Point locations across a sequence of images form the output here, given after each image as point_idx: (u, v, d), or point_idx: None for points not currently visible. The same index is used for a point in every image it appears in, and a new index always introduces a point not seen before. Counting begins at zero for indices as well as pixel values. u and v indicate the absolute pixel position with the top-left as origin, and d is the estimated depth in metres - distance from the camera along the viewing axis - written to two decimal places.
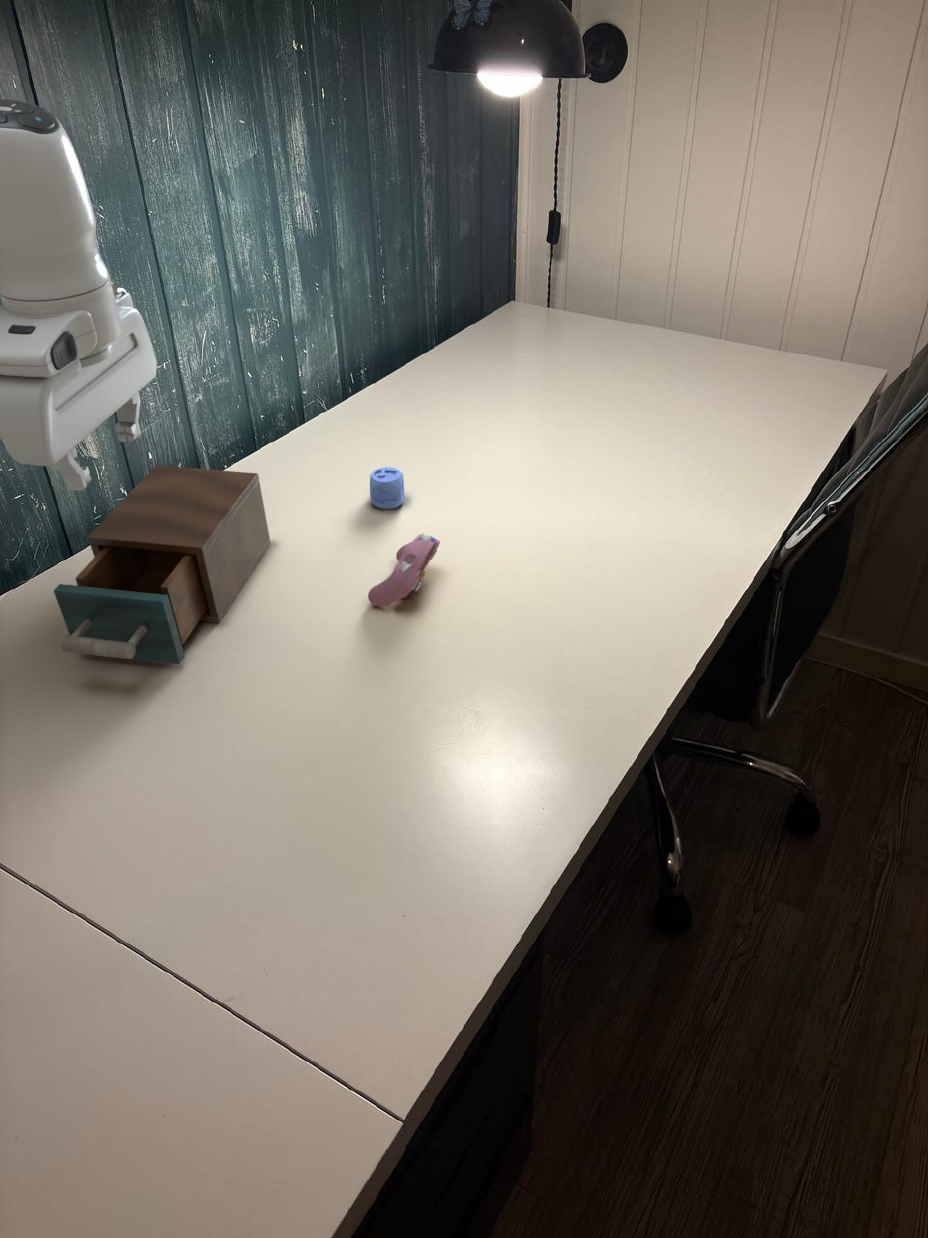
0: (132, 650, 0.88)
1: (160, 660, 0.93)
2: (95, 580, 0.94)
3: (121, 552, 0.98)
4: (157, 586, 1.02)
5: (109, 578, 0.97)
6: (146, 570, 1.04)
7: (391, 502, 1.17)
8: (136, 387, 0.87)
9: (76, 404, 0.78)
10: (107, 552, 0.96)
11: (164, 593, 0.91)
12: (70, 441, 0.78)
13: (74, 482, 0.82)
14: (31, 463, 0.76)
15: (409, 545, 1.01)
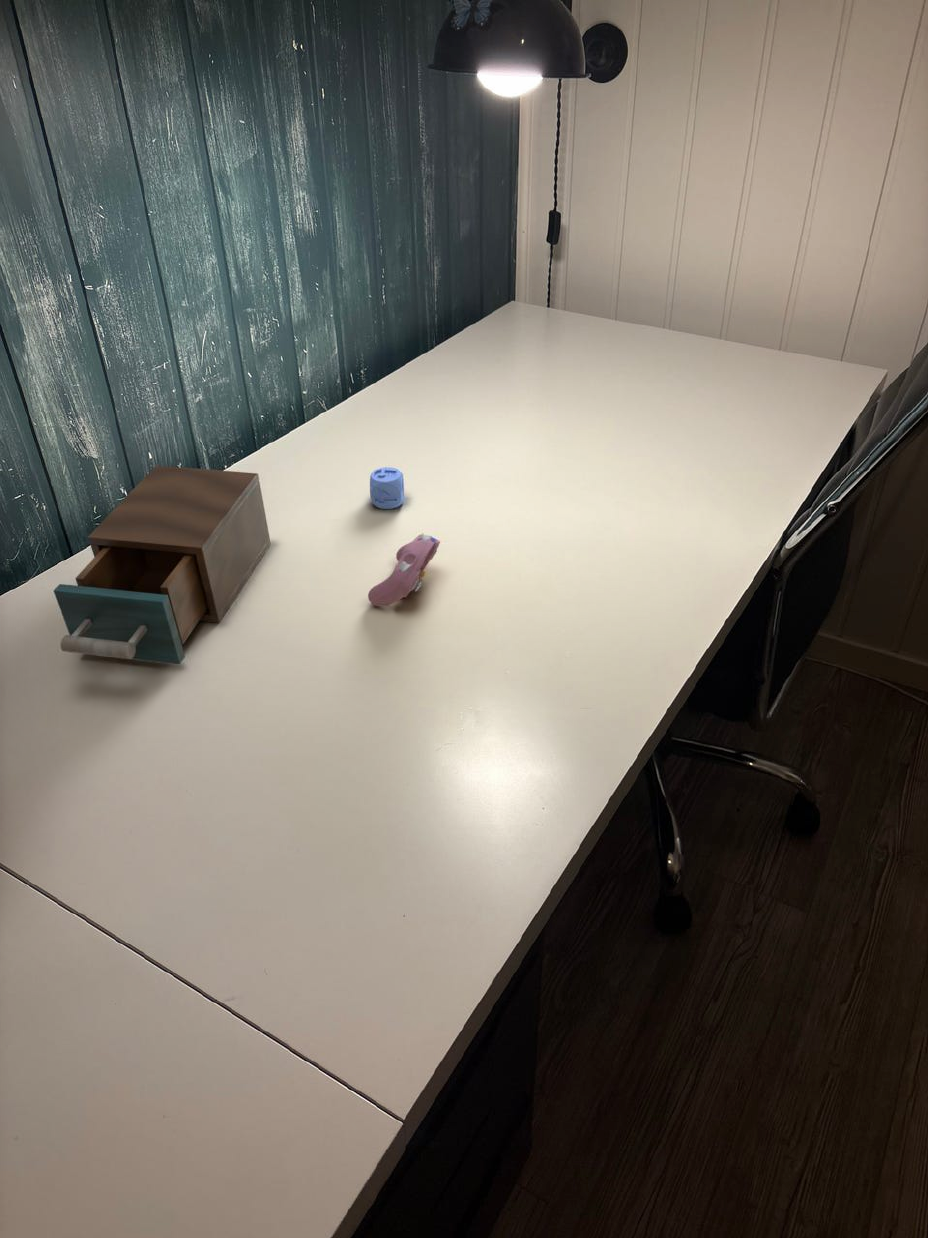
0: (132, 650, 0.88)
1: (160, 660, 0.93)
2: (95, 580, 0.94)
3: (121, 552, 0.98)
4: (157, 586, 1.02)
5: (109, 578, 0.97)
6: (146, 570, 1.04)
7: (391, 502, 1.17)
8: None
9: None
10: (107, 552, 0.96)
11: (164, 593, 0.91)
12: None
13: None
14: None
15: (409, 545, 1.01)
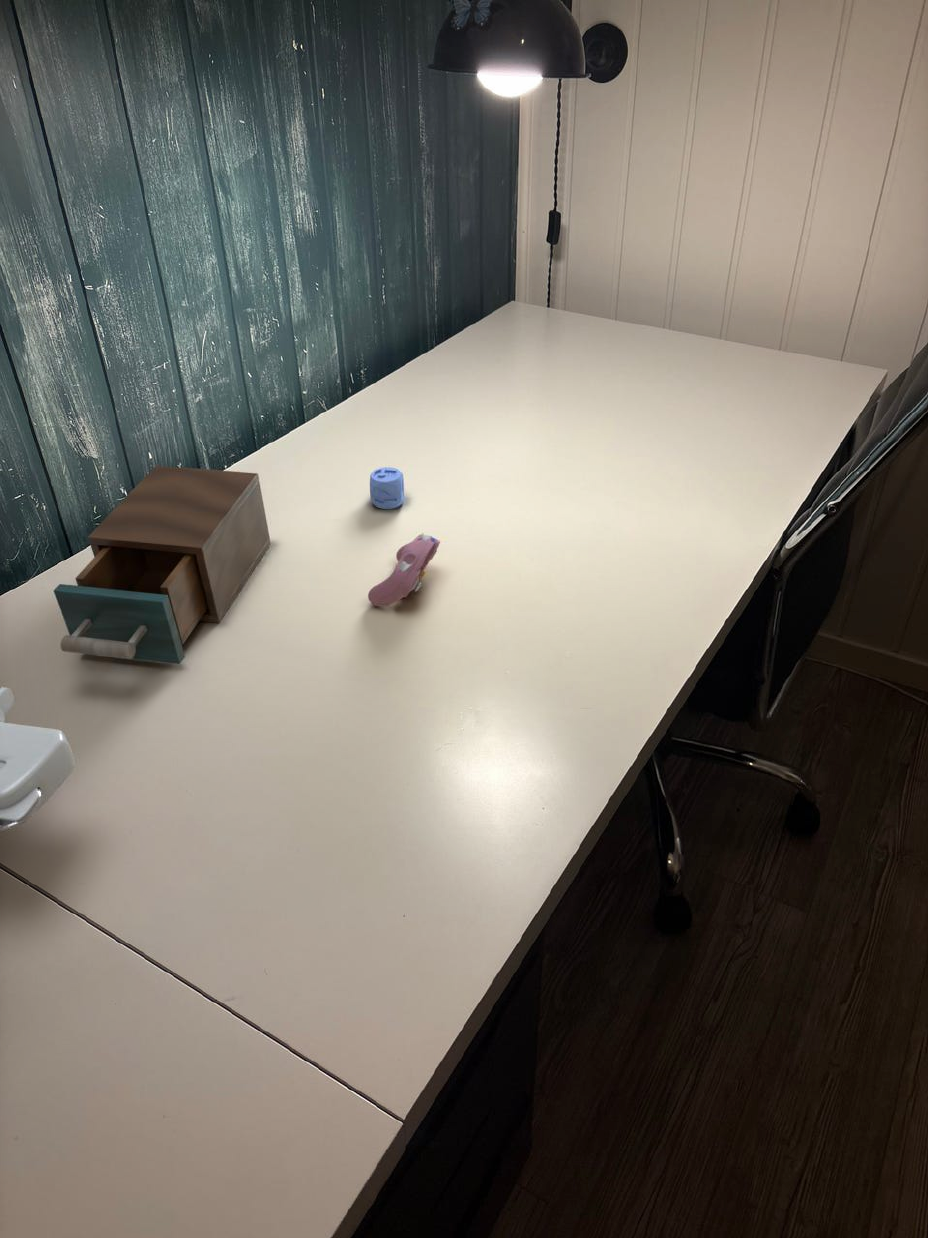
0: (132, 650, 0.88)
1: (160, 660, 0.93)
2: (95, 580, 0.94)
3: (121, 552, 0.98)
4: (157, 586, 1.02)
5: (109, 578, 0.97)
6: (146, 570, 1.04)
7: (391, 502, 1.17)
8: None
9: None
10: (107, 552, 0.96)
11: (164, 593, 0.91)
12: None
13: None
14: None
15: (409, 545, 1.01)
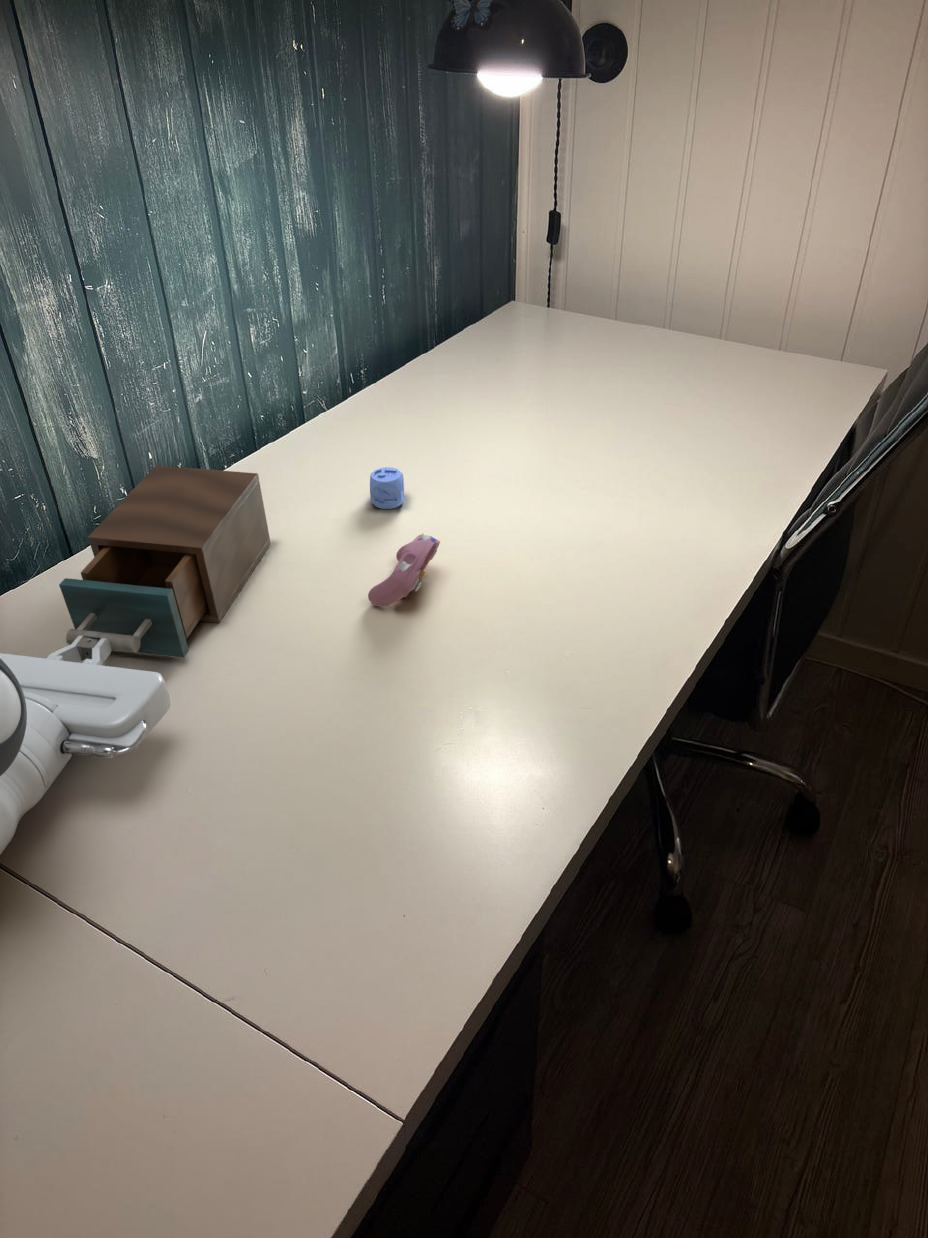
0: (137, 643, 0.89)
1: (164, 654, 0.94)
2: (100, 574, 0.95)
3: None
4: (161, 581, 1.02)
5: (114, 573, 0.97)
6: (150, 565, 1.05)
7: (391, 502, 1.17)
8: None
9: None
10: (112, 547, 0.97)
11: (168, 587, 0.92)
12: None
13: None
14: None
15: (409, 545, 1.01)
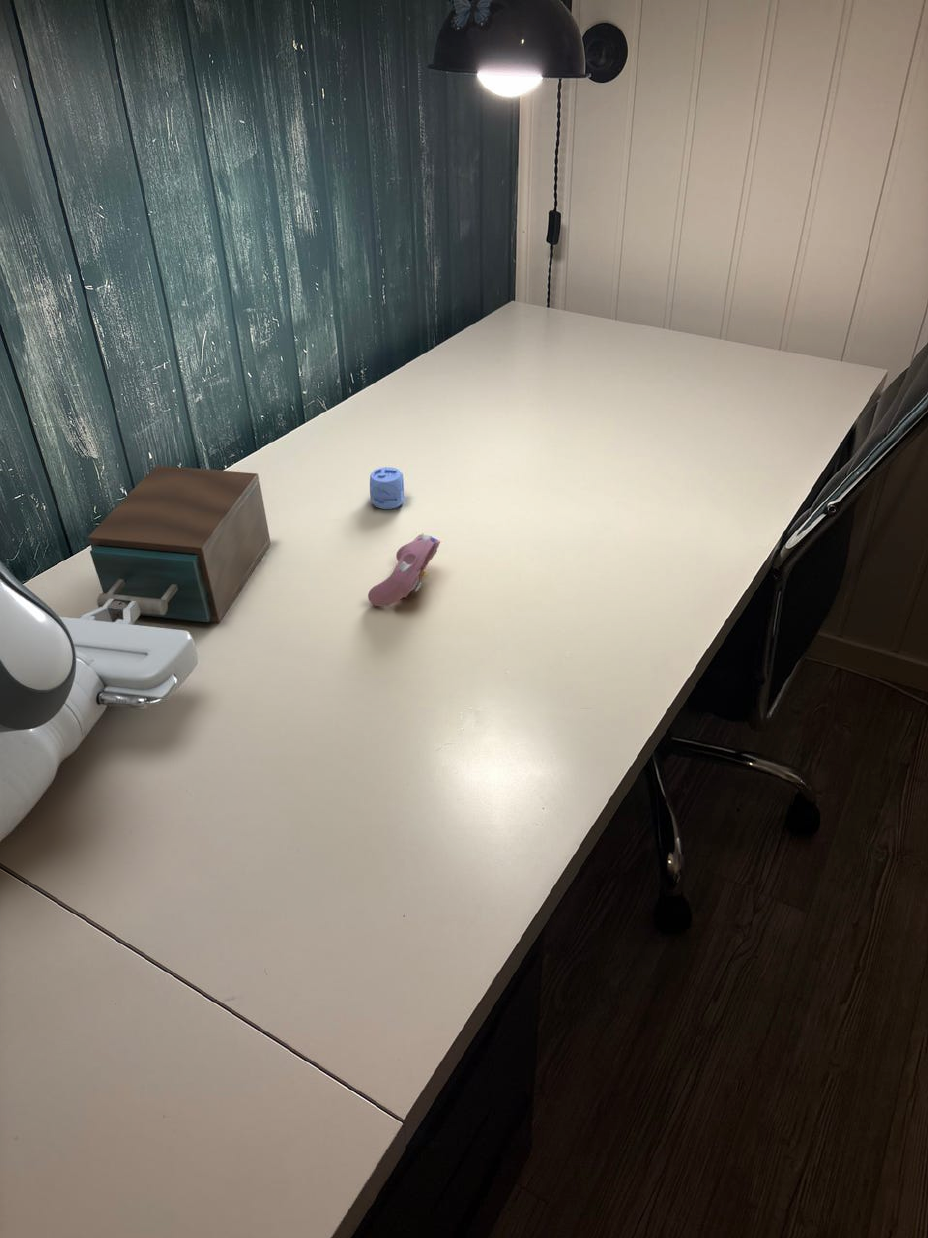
0: (164, 607, 0.93)
1: (189, 618, 0.98)
2: None
3: None
4: None
5: None
6: None
7: (391, 502, 1.17)
8: None
9: None
10: None
11: (194, 554, 0.96)
12: None
13: None
14: None
15: (409, 545, 1.01)
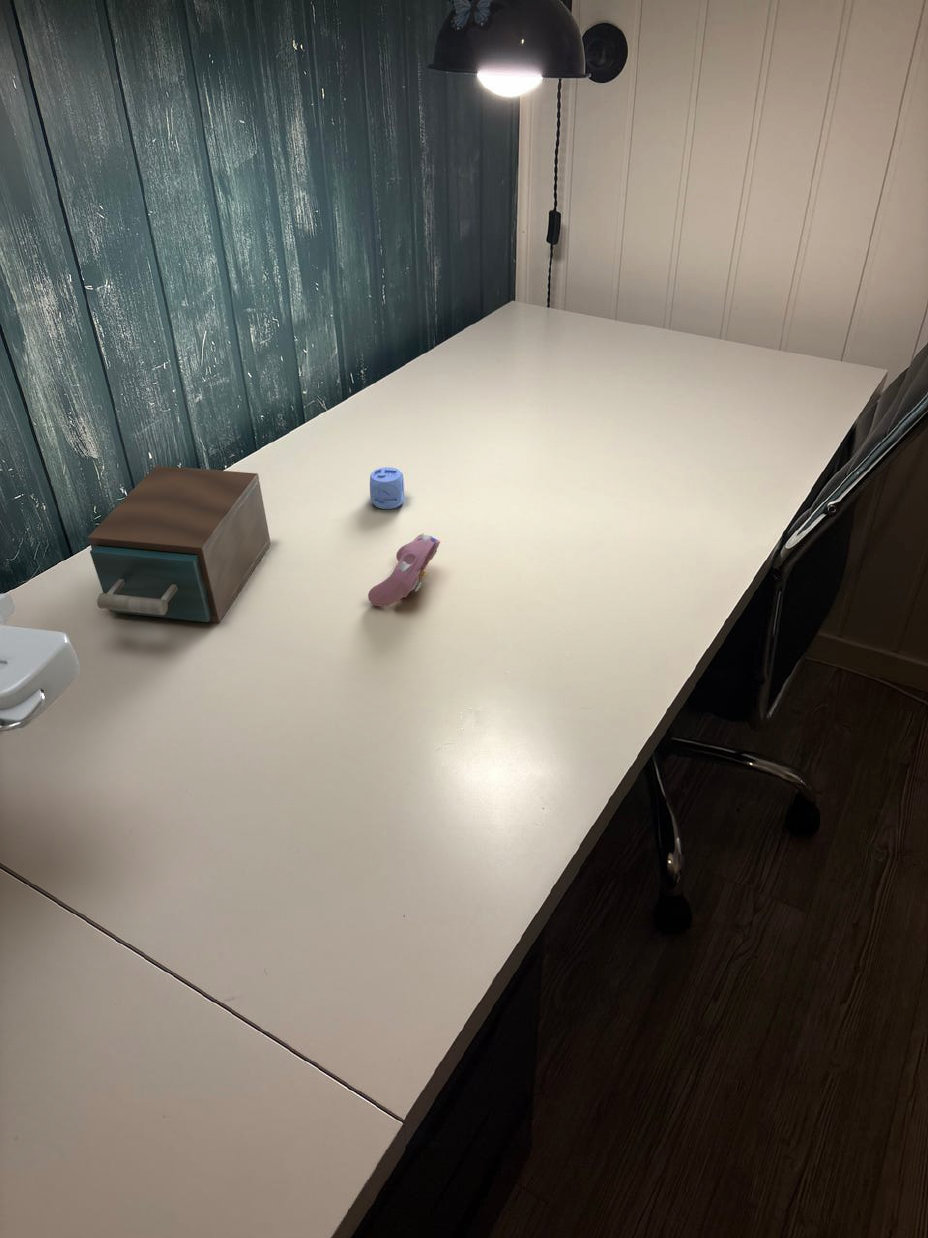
0: (164, 607, 0.93)
1: (189, 618, 0.98)
2: None
3: None
4: None
5: None
6: None
7: (391, 502, 1.17)
8: None
9: None
10: None
11: (194, 554, 0.96)
12: None
13: None
14: None
15: (409, 545, 1.01)
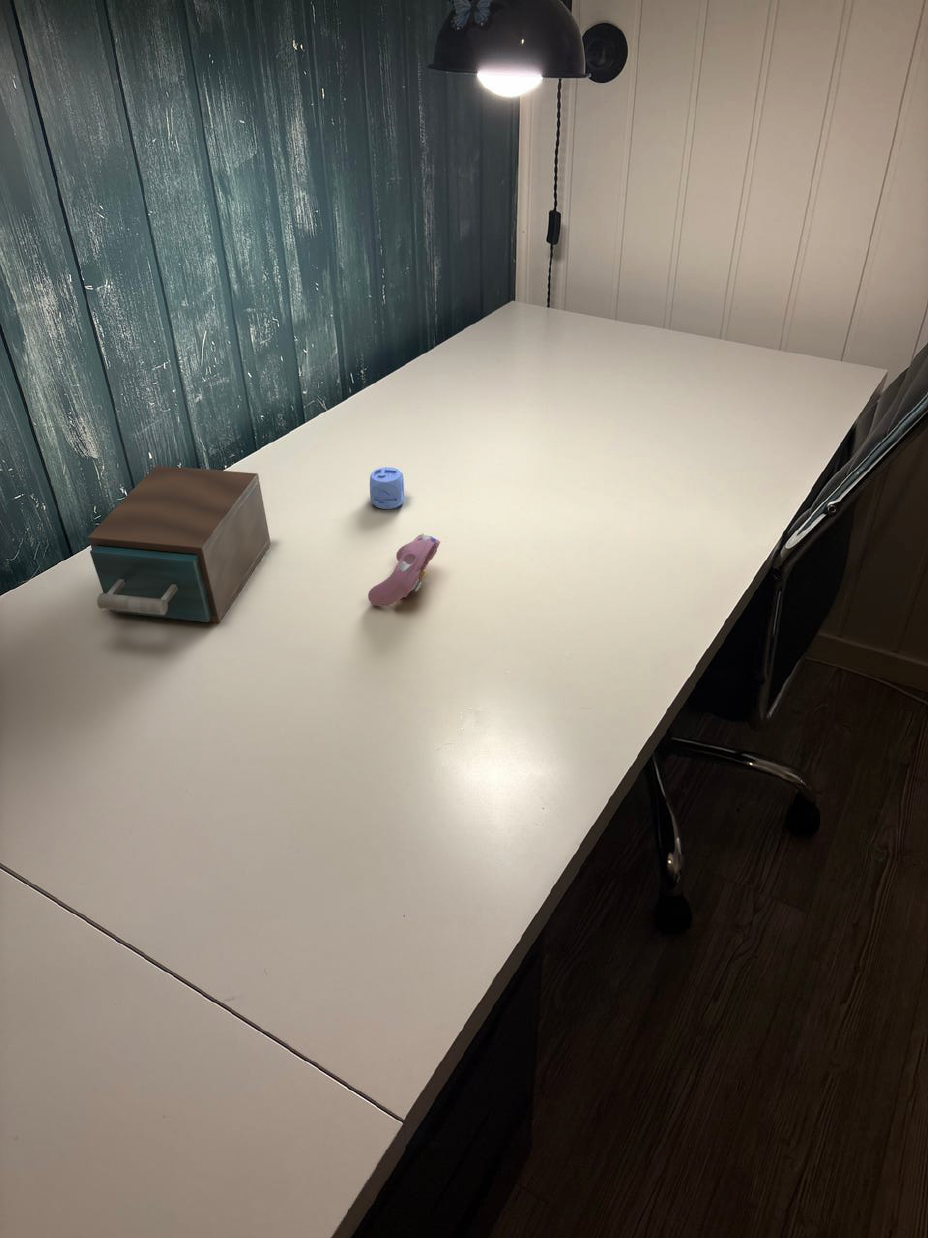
0: (164, 607, 0.93)
1: (189, 618, 0.98)
2: None
3: None
4: None
5: None
6: None
7: (391, 502, 1.17)
8: None
9: None
10: None
11: (194, 554, 0.96)
12: None
13: None
14: None
15: (409, 545, 1.01)
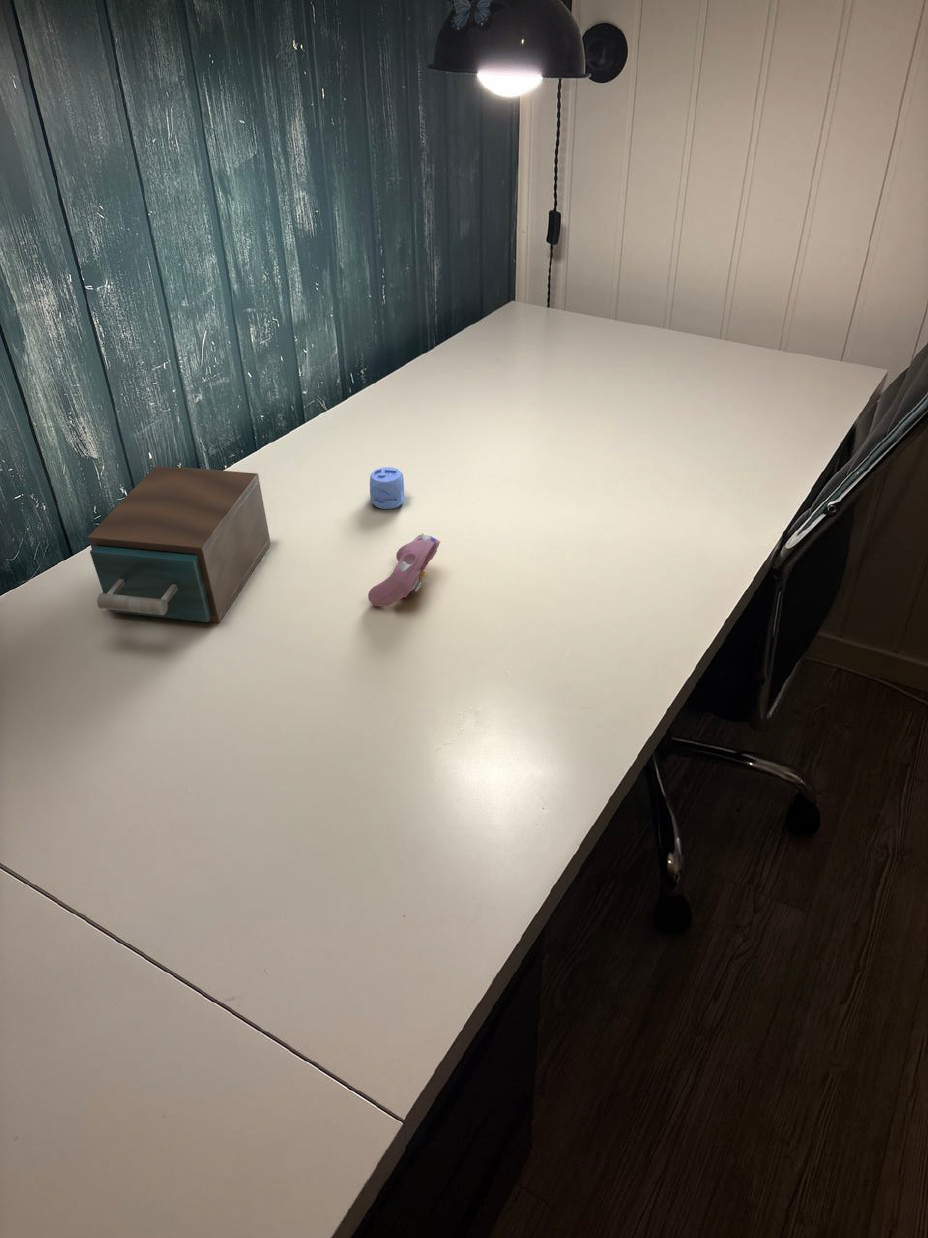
0: (164, 607, 0.93)
1: (189, 618, 0.98)
2: None
3: None
4: None
5: None
6: None
7: (391, 502, 1.17)
8: None
9: None
10: None
11: (194, 554, 0.96)
12: None
13: None
14: None
15: (409, 545, 1.01)
